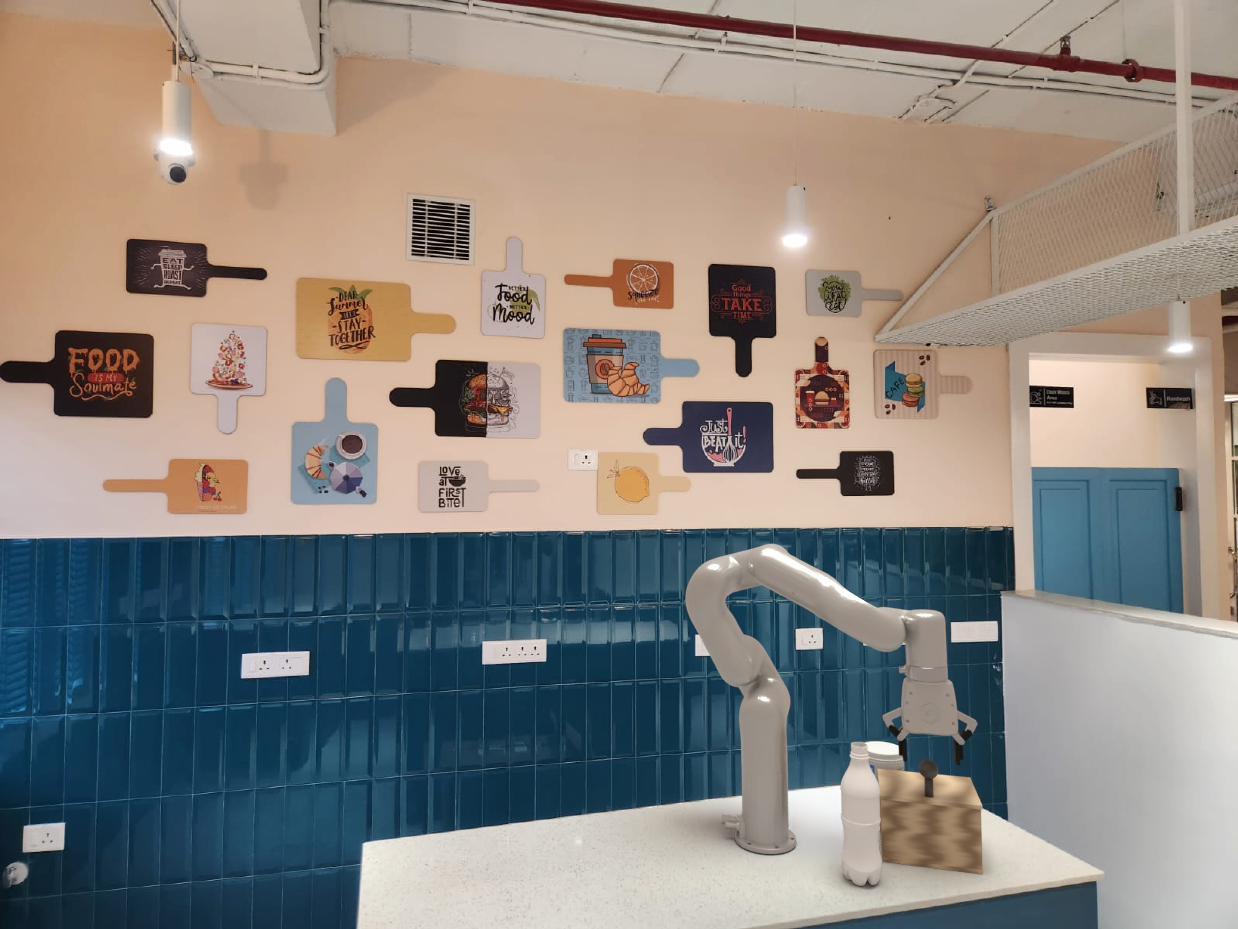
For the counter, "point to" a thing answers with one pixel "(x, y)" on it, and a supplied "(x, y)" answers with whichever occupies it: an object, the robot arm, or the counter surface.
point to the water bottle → (860, 819)
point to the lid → (928, 787)
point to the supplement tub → (884, 757)
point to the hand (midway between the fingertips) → (930, 761)
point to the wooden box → (931, 836)
